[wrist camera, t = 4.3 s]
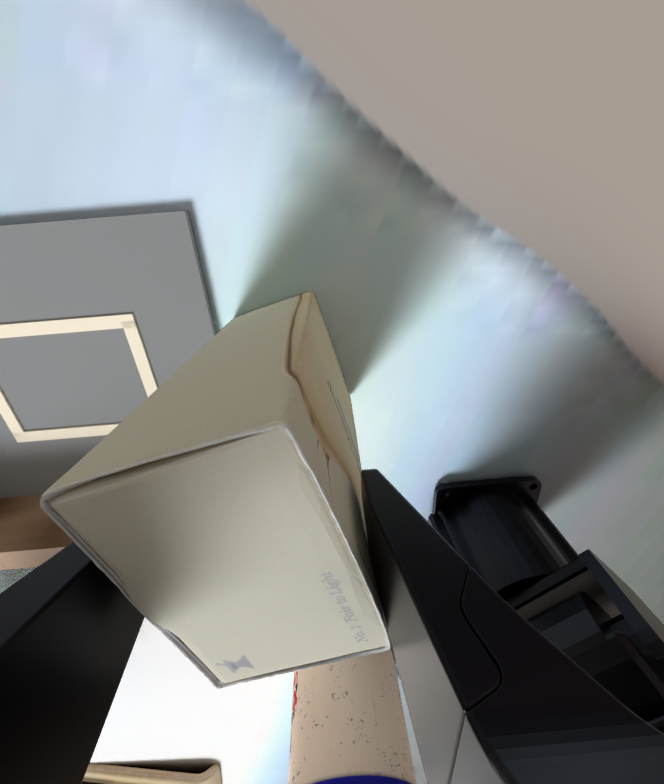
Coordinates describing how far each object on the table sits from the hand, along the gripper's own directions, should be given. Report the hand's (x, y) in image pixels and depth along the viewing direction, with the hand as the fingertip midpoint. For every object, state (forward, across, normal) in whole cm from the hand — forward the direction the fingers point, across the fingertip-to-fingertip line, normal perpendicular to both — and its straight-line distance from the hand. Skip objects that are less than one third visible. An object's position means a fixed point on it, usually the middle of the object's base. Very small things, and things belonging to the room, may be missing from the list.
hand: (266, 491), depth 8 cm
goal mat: (+10, +11, 0) cm, 14 cm away
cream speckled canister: (+10, -2, +29) cm, 31 cm away
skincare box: (+10, 0, 0) cm, 10 cm away
